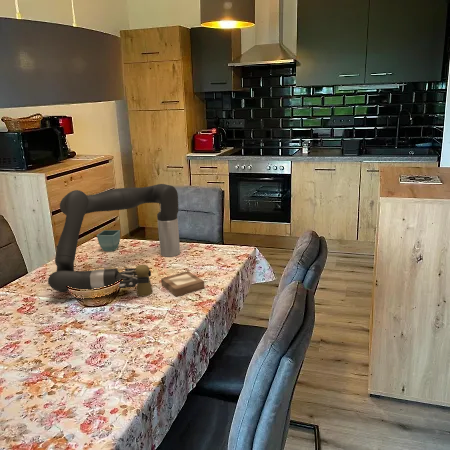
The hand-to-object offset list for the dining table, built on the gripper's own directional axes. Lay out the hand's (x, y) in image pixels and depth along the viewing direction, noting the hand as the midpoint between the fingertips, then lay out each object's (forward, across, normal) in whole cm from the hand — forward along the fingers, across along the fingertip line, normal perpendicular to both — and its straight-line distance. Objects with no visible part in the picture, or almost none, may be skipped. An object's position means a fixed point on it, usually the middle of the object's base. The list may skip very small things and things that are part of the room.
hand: (149, 276), depth 165 cm
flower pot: (-27, +54, +7) cm, 61 cm away
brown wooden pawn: (-2, 0, +7) cm, 7 cm away
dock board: (+12, +3, +6) cm, 14 cm away
